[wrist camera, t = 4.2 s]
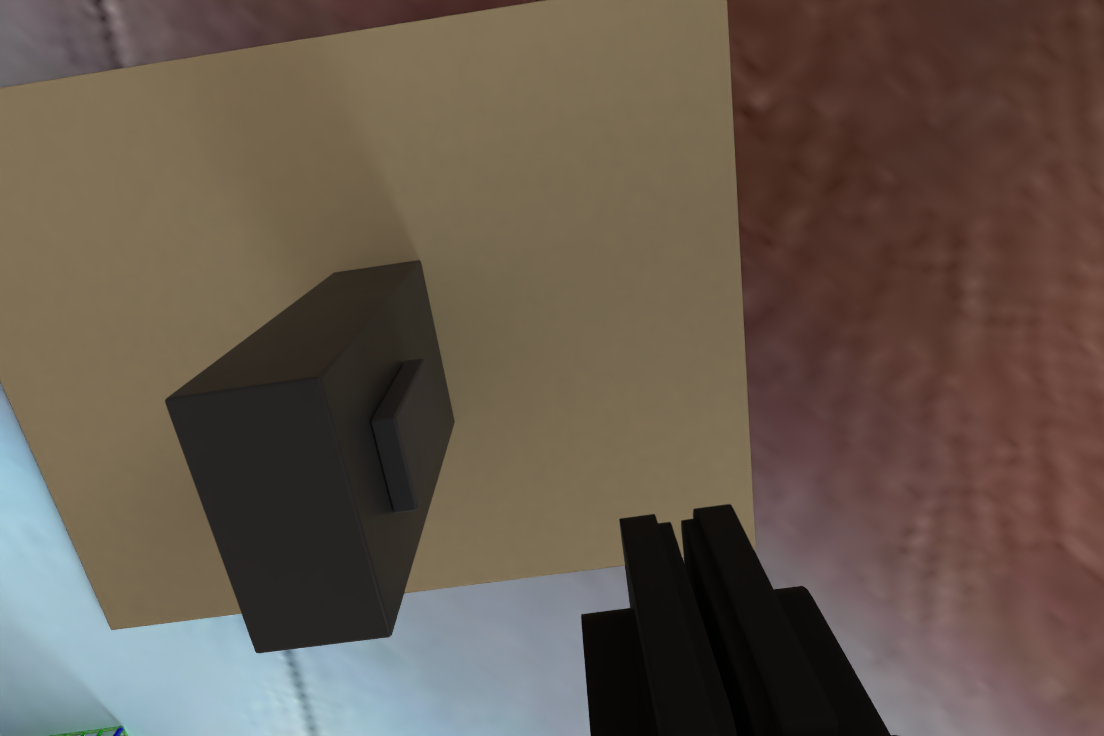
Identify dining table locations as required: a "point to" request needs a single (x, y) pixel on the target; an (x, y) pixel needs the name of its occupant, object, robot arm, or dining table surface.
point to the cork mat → (381, 239)
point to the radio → (322, 456)
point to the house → (118, 732)
